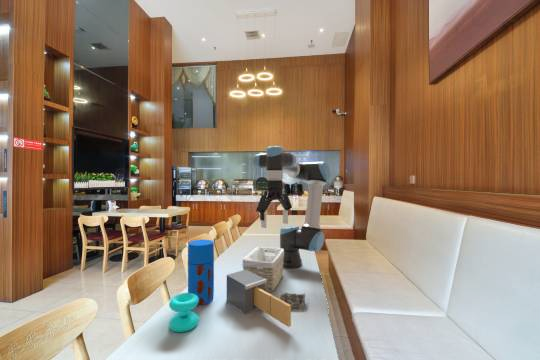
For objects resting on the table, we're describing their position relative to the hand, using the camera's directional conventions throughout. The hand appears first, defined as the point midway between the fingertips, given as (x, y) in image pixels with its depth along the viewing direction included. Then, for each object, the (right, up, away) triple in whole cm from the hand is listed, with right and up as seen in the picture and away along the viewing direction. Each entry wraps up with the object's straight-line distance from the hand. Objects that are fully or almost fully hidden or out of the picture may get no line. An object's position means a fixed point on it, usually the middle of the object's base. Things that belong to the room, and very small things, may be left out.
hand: (275, 225), depth 117 cm
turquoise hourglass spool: (-33, -31, -27) cm, 53 cm away
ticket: (-3, -29, -22) cm, 37 cm away
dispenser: (-13, -31, -11) cm, 35 cm away
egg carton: (+7, -32, -11) cm, 34 cm away
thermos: (-32, -31, -8) cm, 46 cm away
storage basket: (-5, -31, +12) cm, 34 cm away
